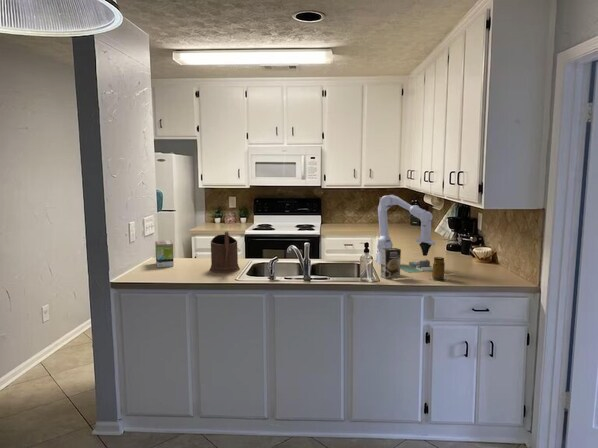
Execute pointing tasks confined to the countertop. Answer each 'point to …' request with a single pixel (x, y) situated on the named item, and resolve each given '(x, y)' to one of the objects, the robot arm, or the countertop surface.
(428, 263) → the plug
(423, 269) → the board
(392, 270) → the coffee box
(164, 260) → the tea box
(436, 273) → the condiment
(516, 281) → the countertop surface
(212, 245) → the brown tall hollow container
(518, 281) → the countertop surface
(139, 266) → the countertop surface
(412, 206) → the robot arm
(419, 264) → the grey knob block
